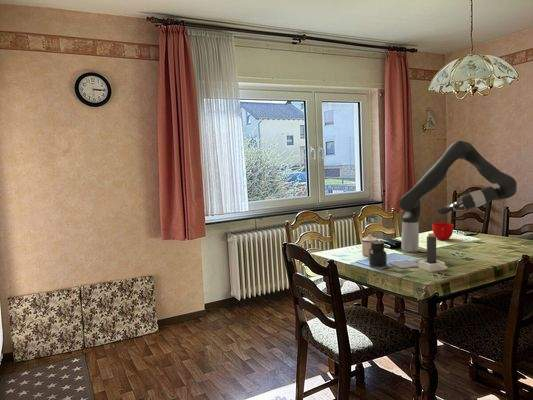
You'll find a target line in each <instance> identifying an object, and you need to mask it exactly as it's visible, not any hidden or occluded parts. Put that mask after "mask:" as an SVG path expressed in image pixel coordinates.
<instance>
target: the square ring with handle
mask: <svg viewBox="0 0 533 400" xmlns="http://www.w3.org/2000/svg"><path fill="white" fill-rule="evenodd" d="M417 262H418V263H417V264H418V267H417V268H418V269H421V270H424V271H426V272H429V273H431V272H438V271H444V270H446V269H448V266H447V265H446V262H445V261H442V260H438V259H436V263H433V264H429V263H427V259H422V260H418V261H417Z"/></svg>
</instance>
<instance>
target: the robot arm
mask: <svg viewBox="0 0 533 400" xmlns="http://www.w3.org/2000/svg"><path fill="white" fill-rule="evenodd" d="M457 160H464V161H466V162H468V163H470V164H471V165H473V166H474V168H475V169H476V171H477V172H478V174H480V176H481V177H482V178H484V179H485V180H486V181H487V182H489V183H491V184H492V185H493V184H494V185H495V184H496V185H498V186H499V187H496V188H494V187H493V186H487V187H484V188H482V189H479V190H473V191H471V192H469V193H465V194H463V195H461V196H460V197H459V200H460V201H455V202H452V203H449V204H448V205H445V206H444V207H441V208H439V209H437V212H438V214H439V215H440V214H441V215H443V216H444V215H445V214H446V215H447V214H448V213H454V212H457V211H461V210H462V209H465V211H470V210H473V209H476V208H479V207H481V206H483V205H485V204H487V203H491V202H493V201H498V200H505V199H510V198H512V197H513V196H514V195H516V193H517V187H518V183H517V180H516V179H515V178H514V177H513V176H511V175H509V174H507V173H505V172H503V171H501V170H500V169H498V168H497V167H496V166H494V165H493V164H492V163H490V162H489V161H488V160H487V159H485V157H483V156H482V154H481V153H480V152H479V151H478V150H477V149H476V148H475V147H474V145H472V143H470V142H468V141H464V140H456V141H454V142H453V143H451V144H450V146H449V147H448V148H447V149H446V151H445V152H444V153H443V154H442V155H441V157H440V158H439V159H438V160H437V161H436V162H435V164H434V165H432V167H430V168H429V169H428V170H427V172H426V173H425V174H424V175H423V176H422V177H421V178H420V179H419V180H418V181H417V183H415V185H414V186H413V187H412V188H410V189H409V191H407V192H406V193H405V194H404V195H402V196H401V198H399V203H398V206H399V208H400V209H401V210H403V211H405V213H404V215H403V216H402V218H401V235H400V236H401V250H402V251H403V252H406V253H407V252H409V253H412V252H415V253H416V252H420V251H419V247H420V246H419V243H420V241H419V240H420V237H419V235H420V233H419V232H420V231H419V228H420V227H419V226H420V225H419V219H420V216H421V200H420V199H421V198H422V197H424V196H425V195H427V194H428V193H430V192H431V191H432V190H434V189H436V187H439V185H440V184H441V183H442V182H443V181H444V180H445V178H446V177H447V173H448V171H449V169H450V167H451V166H452V165H453V164H454V163H455V162H456V161H457Z"/></svg>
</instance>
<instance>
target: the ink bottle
mask: <svg viewBox="0 0 533 400" xmlns="http://www.w3.org/2000/svg"><path fill="white" fill-rule="evenodd" d="M371 249H372V250H371V251H370V252H369V256H368V257H369V258H368V262H369V265H370V266H371V267H376V266H377V267H379V268H380V267H386V266H387V265H388V261H387V257H388V256H387V252H386V251H385V242H384V241H380V240H378V241H373V242H371Z"/></svg>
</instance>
